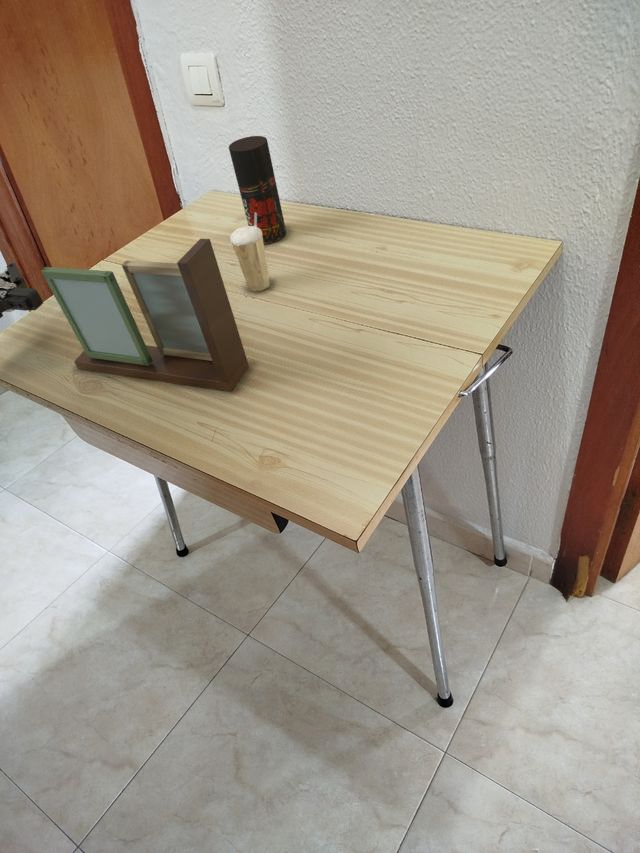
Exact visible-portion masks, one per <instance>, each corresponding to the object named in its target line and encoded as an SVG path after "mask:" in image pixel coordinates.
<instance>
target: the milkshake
mask: <svg viewBox="0 0 640 853" xmlns="http://www.w3.org/2000/svg"><path fill="white" fill-rule="evenodd" d="M229 240H230V243H231V246H232V248H233V250H234V253H235V255H236V258H237V261H238V263H239V266H240V269H241V271H242V274H243V278H244V280H245V282H246V285H247V288H248V290H249V291H251V292H254V293H255V292H263V291H265V290H267V289H268V288H269V287H270V277H269V271H268V264H267V259H266V251H265V244H264V243H263V235H262V231H261V229H259V228H257V213H254V226H248V225H244V226H240V227H238V228H236V229H235V230H233V232H232V233H231V234H230V237H229Z"/></svg>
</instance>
